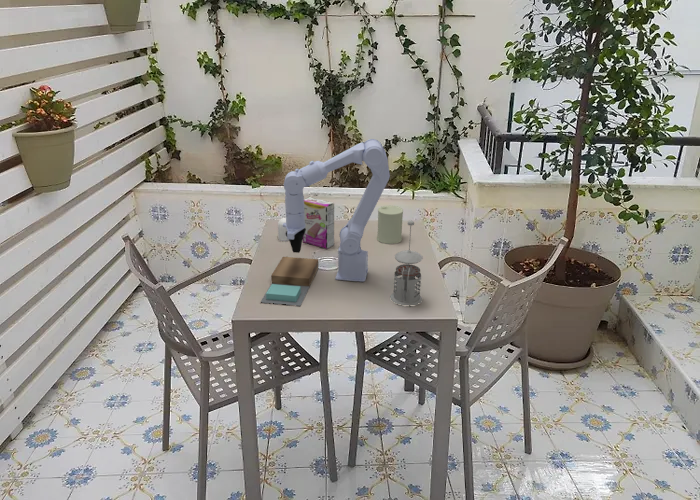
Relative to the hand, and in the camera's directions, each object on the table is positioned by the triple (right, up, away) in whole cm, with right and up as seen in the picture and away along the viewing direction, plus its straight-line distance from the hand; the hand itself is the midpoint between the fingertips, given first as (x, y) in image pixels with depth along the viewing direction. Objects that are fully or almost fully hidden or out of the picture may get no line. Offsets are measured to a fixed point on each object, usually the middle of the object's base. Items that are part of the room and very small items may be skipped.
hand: (296, 251), depth 179 cm
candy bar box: (+5, +3, +27) cm, 28 cm away
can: (+31, +4, +32) cm, 45 cm away
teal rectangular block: (-3, -11, -10) cm, 15 cm away
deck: (-1, -8, +4) cm, 9 cm away
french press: (+33, -15, -10) cm, 38 cm away
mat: (-3, -13, -8) cm, 15 cm away
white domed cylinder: (-7, +5, +31) cm, 32 cm away
